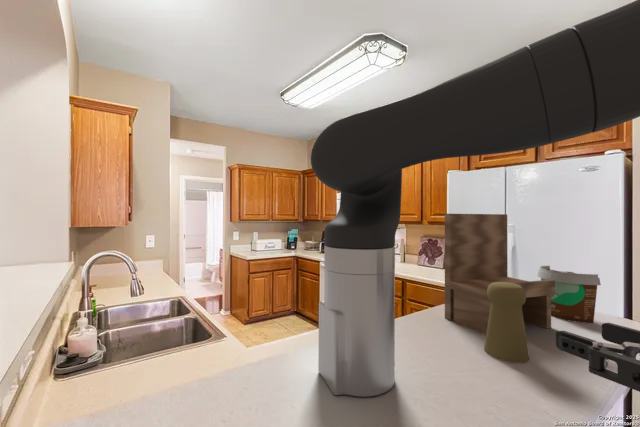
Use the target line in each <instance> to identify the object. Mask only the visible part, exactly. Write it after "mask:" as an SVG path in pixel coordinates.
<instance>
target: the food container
mask: <svg viewBox="0 0 640 427" xmlns="http://www.w3.org/2000/svg"><path fill="white" fill-rule="evenodd" d="M537 277H538V278H540V280H555V295H551V317H553V318H557V319H560V320H563V319H564V321H568V320H570V321H569V322H574V321H576V322H577V323H583V322H585V324H594V322H595V321H594V320H595V311H596V302H597V294H598V292H597V291H598V286H601V280H600V279H601V278H600V277H599V274H595V273H594V274H591V273H576V272H573V271H564V270H563V271H562V270H561V271H559V270H555V269H551V266H550V265H541V266H540V267H539V269H538V271H537Z"/></svg>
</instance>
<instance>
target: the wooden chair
mask: <svg viewBox="0 0 640 427" xmlns="http://www.w3.org/2000/svg"><path fill="white" fill-rule="evenodd" d="M493 282H510V283H514V284H517V285H520V286H521V287H523V289H524V290H525V293H526V301H525V303H524V304H523V305H522V312H523V319H524V322H527V323H529V324H532V325H536V326H538V327H541V328H544V327H545V329H550V327H551V328H552V316H551V295H555V280H541V279H540V280H532V281H530V280H524V279H520V278H514V277H510V276H508V214H506V213H505V214H500V213H499V214H498V213H494V214H493V213H492V214H491V213H444V319H446V320H449V321H454V322H456V324H457V323H458V324H460V325H462V326H464V327H467V328H469V329H471V330H473V331H475V332H478V333H481V334H483V335H485V336H486V333H487V326H488V320H489V313H490V306H491V302H490V300H489V299H488V296H487V288H488V286H489V285H490V284H491V283H493Z"/></svg>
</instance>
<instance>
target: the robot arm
mask: <svg viewBox="0 0 640 427" xmlns="http://www.w3.org/2000/svg"><path fill="white" fill-rule="evenodd" d="M639 117H640V0H633V1H632V2H630V3H627V4H624V5H623V6H619V7H618V8H616V9H612V10H610V11H607V12H605V13H602V14H601V15H600V14H599V15H598V16H596V17H593V18H590V19H587V20H585V21H582V22H580V23H577V24H575V25H573V26H570V27H568V28H566V29H564V30H561V31H558V32H556V33H554V34H551V35H549V36H546V37H544V38H541V39H540V40H537V41H535V42H532V43H530V44H528V45H526V46H524V47H521V48H519V49H517V50H514V51H512V52H510V53H507V54H506V55H504V56H501V57H499V58H497V59H495V60H492V61H491V62H487V63H486V64H483V65H481V66H478V67H476V68H473V69H472V70H469V71H466V72H464V73H462V74H459V75H457V76H454V77H453V78H450V79H447V80H445V81H443V82H441V83H439V84H437V85H434V86H432V87H430V88H427V89H425V90H423V91H420V92H417V93H416V94H415V93H414V94H413V95H411V96H407V97H403V98H401V99H398V100H395V101H392V102H390V103H386V104H383V105H379V106H376V107H373V108H370V109H366V110H363V111H360V112H356V113H353V114H350V115H347V116H344V117H343V118H339V119H337V120H336V121H333V122H332V123H331V124H329V125H328V126H327V127H326V128H325V129H323V130H322V131H321V133H320V134H319V135H318V137H317V138H316V140H315V142H314V143H313V146H312V149H311V152H310V165H311V169H312V172H314V175H315V176H316V178H317V179H318V180H319V181H320V182H321V183H322V184H324V185H325V187H326V186H327V187H328V188H330V189H331V190H334V191H337V192H340V200H339V209H338V211H337V213H336V215H335V217H333V219H332V220H330V221H328V223H327V224H326V225H325V227H324V236H323V237H324V241H323V242H324V246H323V249H324V251H323V252H324V257H323V258H324V260H323V261H324V264H323V266H324V267H323V268H324V269H323V270H324V271H323V272H324V273H323V300H320V301H319V302H318V370H317V371H318V373H319V374H320V376H321V377H322V379H323V381H324V382H325V383H326V385H327V386H328V388H329V389H330V390H331V392H332V393H333V395H334V396H340V395H346V396H348V395H349V396H353V397H363V398H365V397H373V396H379V395H382V394H384V393H387V392H388V391H390V390H391V389H392V388H393V386H394V385H395V381H396V379H395V378H396V377H395V366H396V361H395V355H396V354H395V352H396V350H395V349H396V348H395V345H396V344H395V339H396V336H395V332H396V330H395V329H396V328H395V326H396V325H395V324H396V321H395V320H396V318H395V317H396V316H395V314H396V313H395V312H396V311H395V310H396V309H395V308H396V306H395V305H396V303H395V302H396V301H395V300H396V299H395V297H396V296H395V295H396V294H395V292H396V291H395V289H396V287H395V286H396V281H395V279H396V274H395V273H396V272H395V271H396V270H395V269H396V233H397V230H398V227H399V224H400V219H401V210H402V209H401V208H402V189H403V188H402V187H403V186H402V185H403V169H407V168H409V167H412V166H415V165H419V164H423V163H427V162H431V161H437V160H442V159H452V158H461V157H464V158H465V157H474V156H475V157H477V156H487V155H495V154H503V153H504V154H505V153H511V152H512V153H513V152H518V151H524V150H529V149H534V148H535V149H536V148H539V147H543V146H547V145H552V144H555V143H558V142H562V141H563V142H564V141H566V140H570V139H575V138H577V137H582V136H586V135H589V134H591V133H597V132H600V131H603V130H607V129H609V128H612V127H616V126H619V125H621V124H623V123H627V122H629V121H631V120H632V121H633V120H635V119H637V118H639ZM601 338H602V339H603V340H605V341H606V342H610V343H606V342H602V341H599V340H596V339H595V340H594V339H591V338H588V337H585V336H582V335H579V334H575V333H573V332H571V331H567V330H557V331H556V332H555V346H556V347H557V349H558V350H559V351H562V352H565V353H567V354H569V355H572V356H575V357H577V358H581V359H583V360H586V361H588V372H589V373H591V374H593V375H595V376H598V377H600V378H603V379H606V380H608V381H610V382H614V383H616V384H619V385H621V386H623V387H627V388H629V389H631V390H635V391H636V392H639V393H640V359H637V355H639V354H640V330H638V329H635V328H631V327H627V326H623V325H619V324H616V323H612V322H604V323H602V324H601ZM609 361H612V362H609Z"/></svg>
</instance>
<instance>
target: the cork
mask: <svg viewBox="0 0 640 427" xmlns="http://www.w3.org/2000/svg"><path fill="white" fill-rule="evenodd" d="M487 296H488V299H489V300H490V302H491V306H490V313H489V320H488V326H487V333H486V335H485V341H484V348H483V349H484V353H485V354H486V355H488V356H490V357H491V358H493V359H496V360H499V361H502V362H507V363H512V364H513V363H515V364H523V363H527V362H529V361H530V359H531V358H530V353H529V346H528V340H527V333H526V332H527V331H526V325H525V321H524V319H523V312H522V305H523V304H524V303H525V301H526V293H525V290H524V289H523V287H521V286H520V285H517V284H514V283H510V282H493V283H491V284H490V285H489V286H488V288H487Z"/></svg>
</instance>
